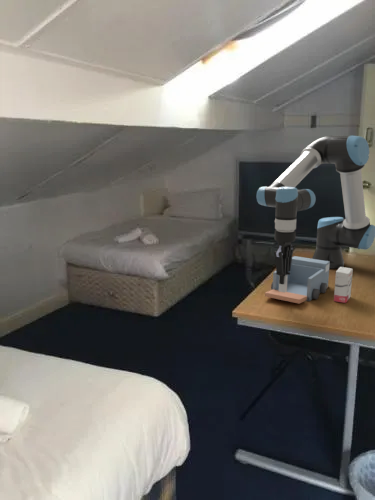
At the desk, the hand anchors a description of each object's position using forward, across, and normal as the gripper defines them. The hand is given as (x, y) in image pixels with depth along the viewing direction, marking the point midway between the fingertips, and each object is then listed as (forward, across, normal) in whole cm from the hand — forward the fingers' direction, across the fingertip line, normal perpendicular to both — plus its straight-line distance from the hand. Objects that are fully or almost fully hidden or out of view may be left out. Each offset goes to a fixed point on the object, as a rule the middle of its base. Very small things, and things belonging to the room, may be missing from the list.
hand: (282, 291), depth 177 cm
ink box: (+5, -18, +17) cm, 25 cm away
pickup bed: (+5, -19, 0) cm, 19 cm away
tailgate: (+3, -7, 0) cm, 8 cm away
